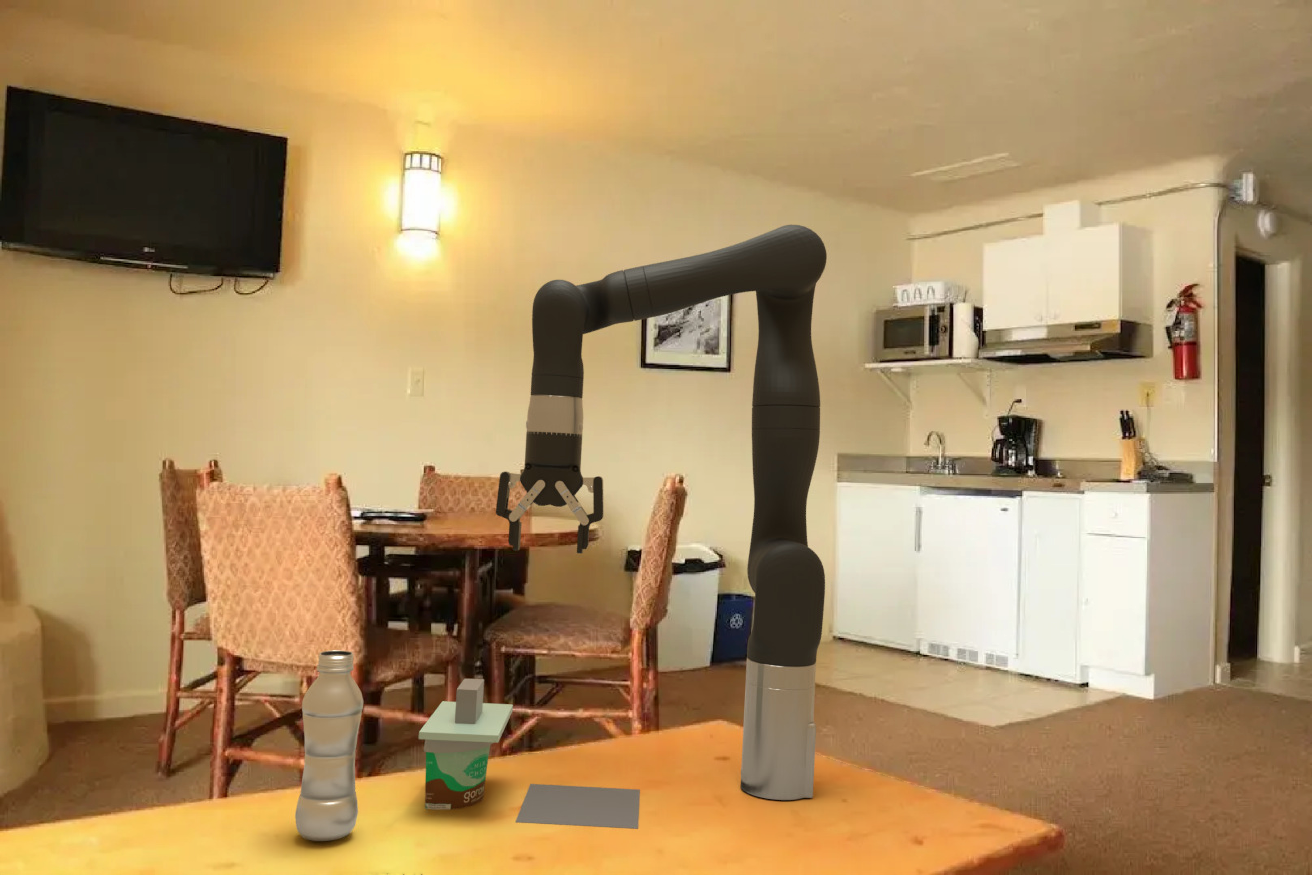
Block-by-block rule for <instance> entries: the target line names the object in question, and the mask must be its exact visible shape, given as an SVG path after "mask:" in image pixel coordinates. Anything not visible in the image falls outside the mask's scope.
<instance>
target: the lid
mask: <svg viewBox="0 0 1312 875" xmlns="http://www.w3.org/2000/svg"><path fill="white" fill-rule="evenodd" d="M484 686H485V679H483V678H481V679H480V678H464V679H463V680H462V681H461V682H460V684H459V685H458V687H457V689H456V696H455V698H456V699H455V701H446V700H443V701H441V703H440V704H439V705H438V706H437V708H436V709H435V711H434V712H433V713H432V714H431V715H430V717H429V718H428V720H427V721H426V722H425V724H424V725H422V728H421V729H420V730H419V732H418V740H425V739H428V740H450V741H472V742H494V743H497V744H499V742H500V741H501V740H500V739H501V737H502V735H503V733H504V730H505V728H506V727H507V724H508V722H509V721H510V720H509V719H510V717H511V715H512V713H513V709H514V708H513V707H514V705H513V704H507V703H492V702H491V703H490V702H488V703H487V702H484V691H485V690H484V688H485V687H484Z"/></svg>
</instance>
